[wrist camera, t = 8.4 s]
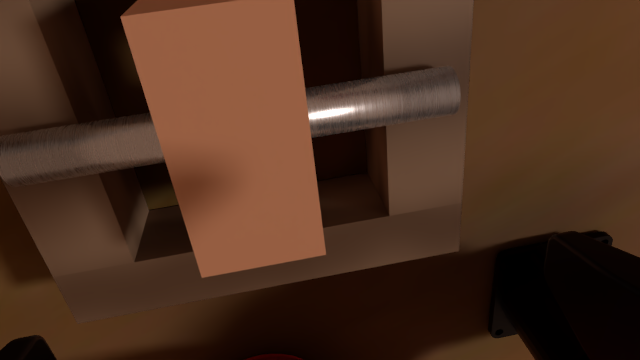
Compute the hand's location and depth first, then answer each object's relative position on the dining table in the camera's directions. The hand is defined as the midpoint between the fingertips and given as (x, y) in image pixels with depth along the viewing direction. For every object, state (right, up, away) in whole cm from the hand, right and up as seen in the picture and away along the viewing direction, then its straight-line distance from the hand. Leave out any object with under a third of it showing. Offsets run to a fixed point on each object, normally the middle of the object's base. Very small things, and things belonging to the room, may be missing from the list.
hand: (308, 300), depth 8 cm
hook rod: (-3, +4, +7) cm, 9 cm away
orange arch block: (-3, +6, +9) cm, 11 cm away
